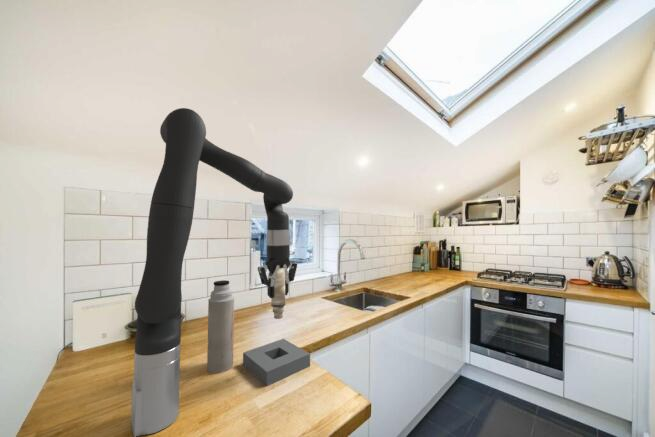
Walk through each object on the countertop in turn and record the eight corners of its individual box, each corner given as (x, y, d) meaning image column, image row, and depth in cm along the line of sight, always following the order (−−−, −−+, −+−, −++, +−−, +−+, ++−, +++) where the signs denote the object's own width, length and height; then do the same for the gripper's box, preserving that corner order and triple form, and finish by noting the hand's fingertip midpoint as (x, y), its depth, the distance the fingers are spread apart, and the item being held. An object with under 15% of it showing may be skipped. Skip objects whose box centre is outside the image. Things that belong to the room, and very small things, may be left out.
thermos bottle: (235, 359, 89) (236, 278, 90) (230, 372, 81) (231, 283, 83) (211, 361, 88) (212, 279, 89) (203, 374, 80) (205, 284, 81)
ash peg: (275, 320, 80) (275, 269, 80) (268, 317, 83) (268, 267, 84) (288, 317, 83) (287, 267, 83) (280, 314, 86) (280, 266, 87)
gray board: (266, 386, 74) (267, 372, 74) (242, 364, 86) (243, 352, 86) (310, 366, 85) (310, 353, 85) (283, 349, 97) (283, 338, 97)
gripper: (263, 245, 76) (263, 303, 76) (302, 243, 86) (302, 294, 85) (252, 244, 82) (252, 298, 81) (290, 242, 91) (290, 290, 91)
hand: (278, 296), depth 83 cm, fingers closed on ash peg, 4 cm apart
